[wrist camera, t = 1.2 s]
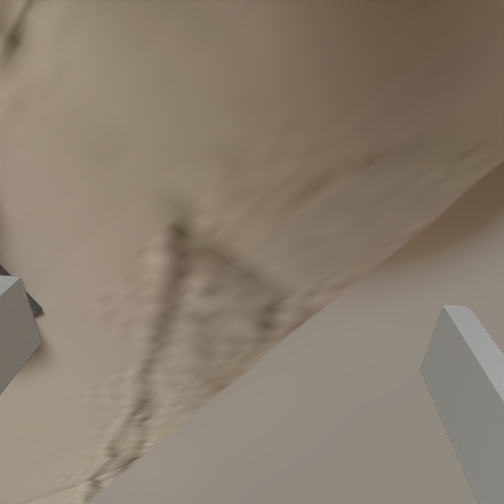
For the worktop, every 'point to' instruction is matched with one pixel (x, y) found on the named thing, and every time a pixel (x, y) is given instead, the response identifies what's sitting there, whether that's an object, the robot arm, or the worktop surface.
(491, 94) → the worktop surface
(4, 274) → the stub plate
